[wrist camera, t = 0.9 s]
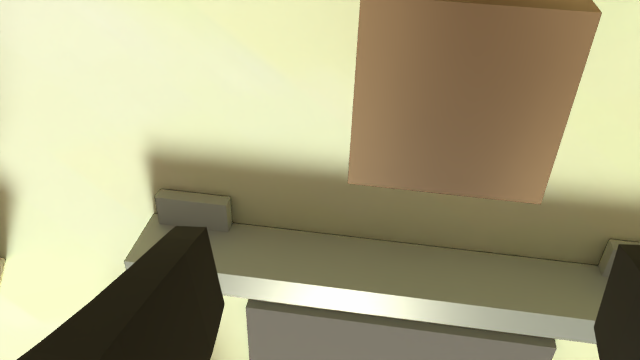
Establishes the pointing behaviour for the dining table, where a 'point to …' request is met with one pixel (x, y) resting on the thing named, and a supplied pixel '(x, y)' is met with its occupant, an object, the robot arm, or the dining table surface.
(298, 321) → the mat
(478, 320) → the low wall
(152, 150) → the dining table surface
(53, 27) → the dining table surface
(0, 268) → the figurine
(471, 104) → the walnut block
